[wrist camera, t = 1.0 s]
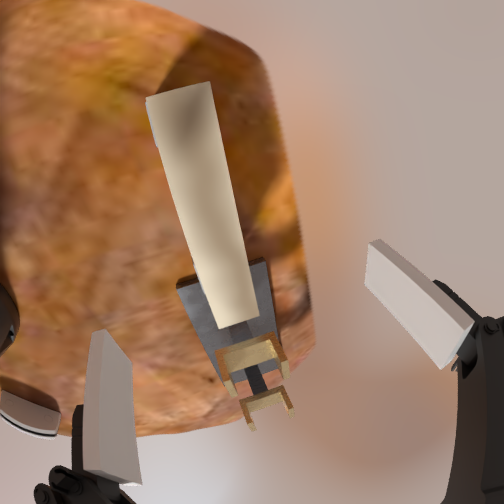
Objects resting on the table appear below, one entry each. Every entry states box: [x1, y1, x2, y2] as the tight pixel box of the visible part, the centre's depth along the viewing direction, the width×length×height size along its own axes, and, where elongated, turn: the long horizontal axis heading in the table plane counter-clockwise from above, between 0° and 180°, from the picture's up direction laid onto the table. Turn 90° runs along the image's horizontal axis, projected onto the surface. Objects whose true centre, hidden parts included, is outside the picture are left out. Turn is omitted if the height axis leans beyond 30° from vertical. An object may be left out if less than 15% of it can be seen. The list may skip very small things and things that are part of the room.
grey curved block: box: [0, 390, 61, 439], centre depth 35 cm, size 17×5×10 cm, turn 55°
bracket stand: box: [176, 257, 294, 431], centre depth 37 cm, size 12×26×14 cm, turn 10°
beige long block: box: [146, 81, 260, 329], centre depth 21 cm, size 4×20×6 cm, turn 10°
